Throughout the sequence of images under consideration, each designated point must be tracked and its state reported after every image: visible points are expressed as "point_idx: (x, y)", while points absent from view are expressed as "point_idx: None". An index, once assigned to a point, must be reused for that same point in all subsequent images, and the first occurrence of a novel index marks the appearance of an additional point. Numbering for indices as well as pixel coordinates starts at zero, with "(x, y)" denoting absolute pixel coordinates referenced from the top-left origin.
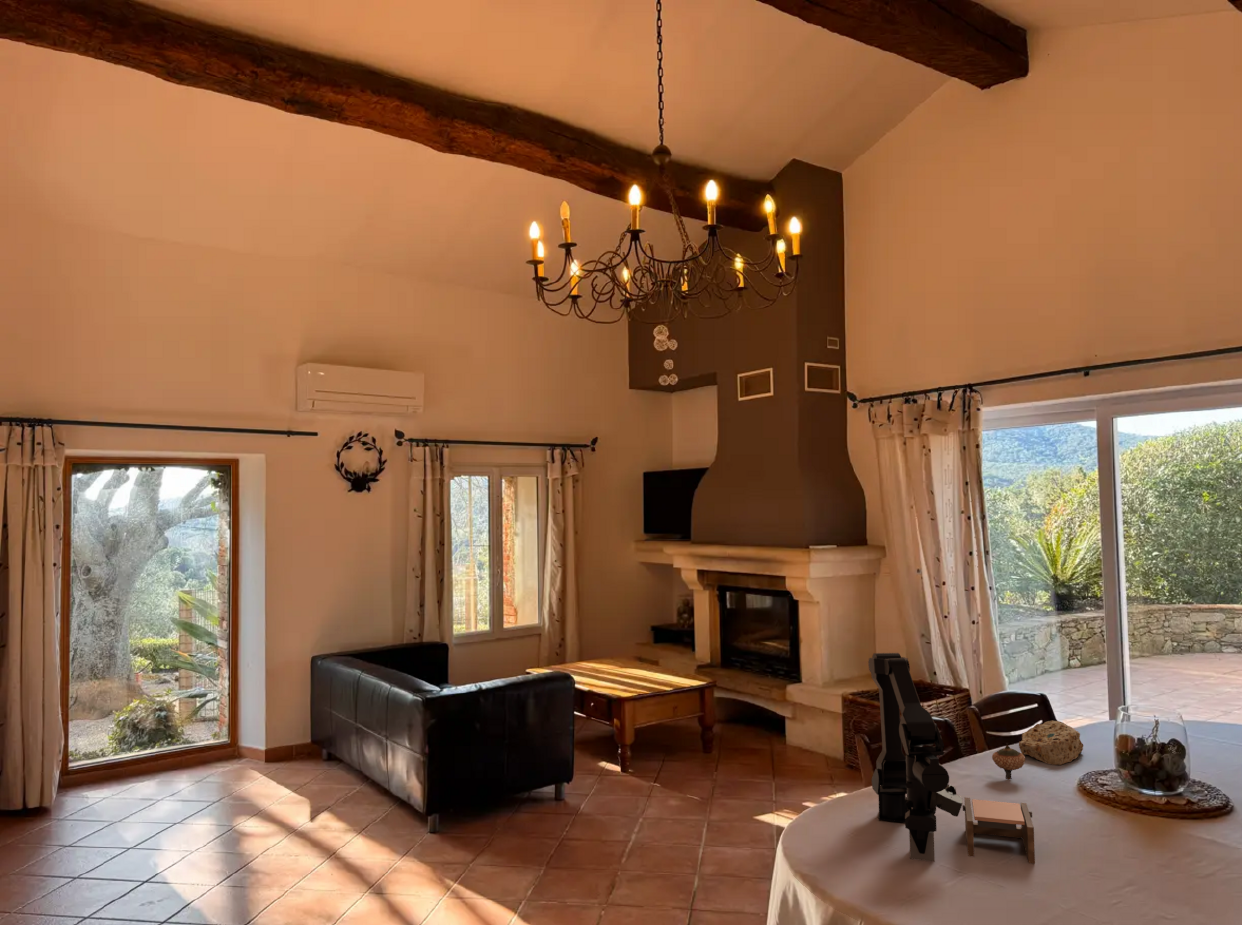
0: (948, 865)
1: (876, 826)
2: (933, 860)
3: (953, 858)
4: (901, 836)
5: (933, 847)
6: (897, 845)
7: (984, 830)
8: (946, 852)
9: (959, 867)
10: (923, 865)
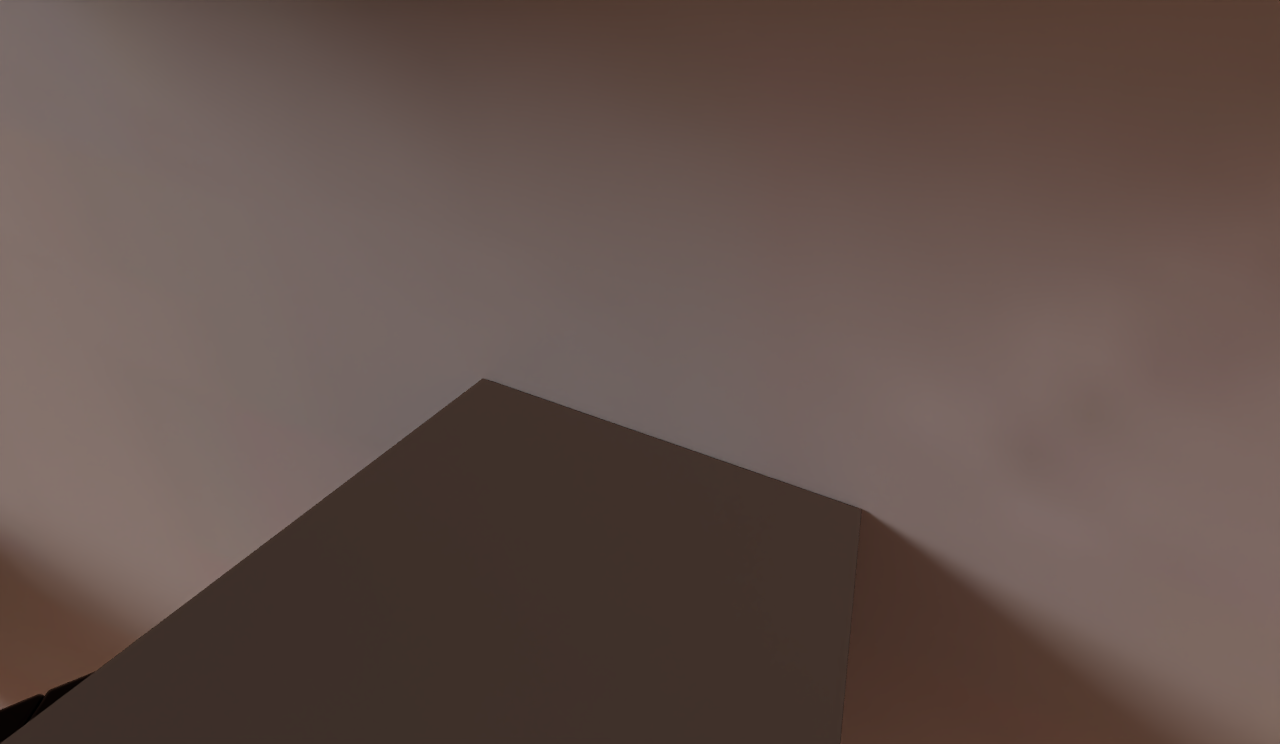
0: (1071, 321)
1: (41, 685)
2: (855, 535)
3: (699, 108)
4: (147, 580)
5: (833, 725)
6: None
7: None
8: (447, 176)
9: (1243, 88)
10: (1016, 725)
